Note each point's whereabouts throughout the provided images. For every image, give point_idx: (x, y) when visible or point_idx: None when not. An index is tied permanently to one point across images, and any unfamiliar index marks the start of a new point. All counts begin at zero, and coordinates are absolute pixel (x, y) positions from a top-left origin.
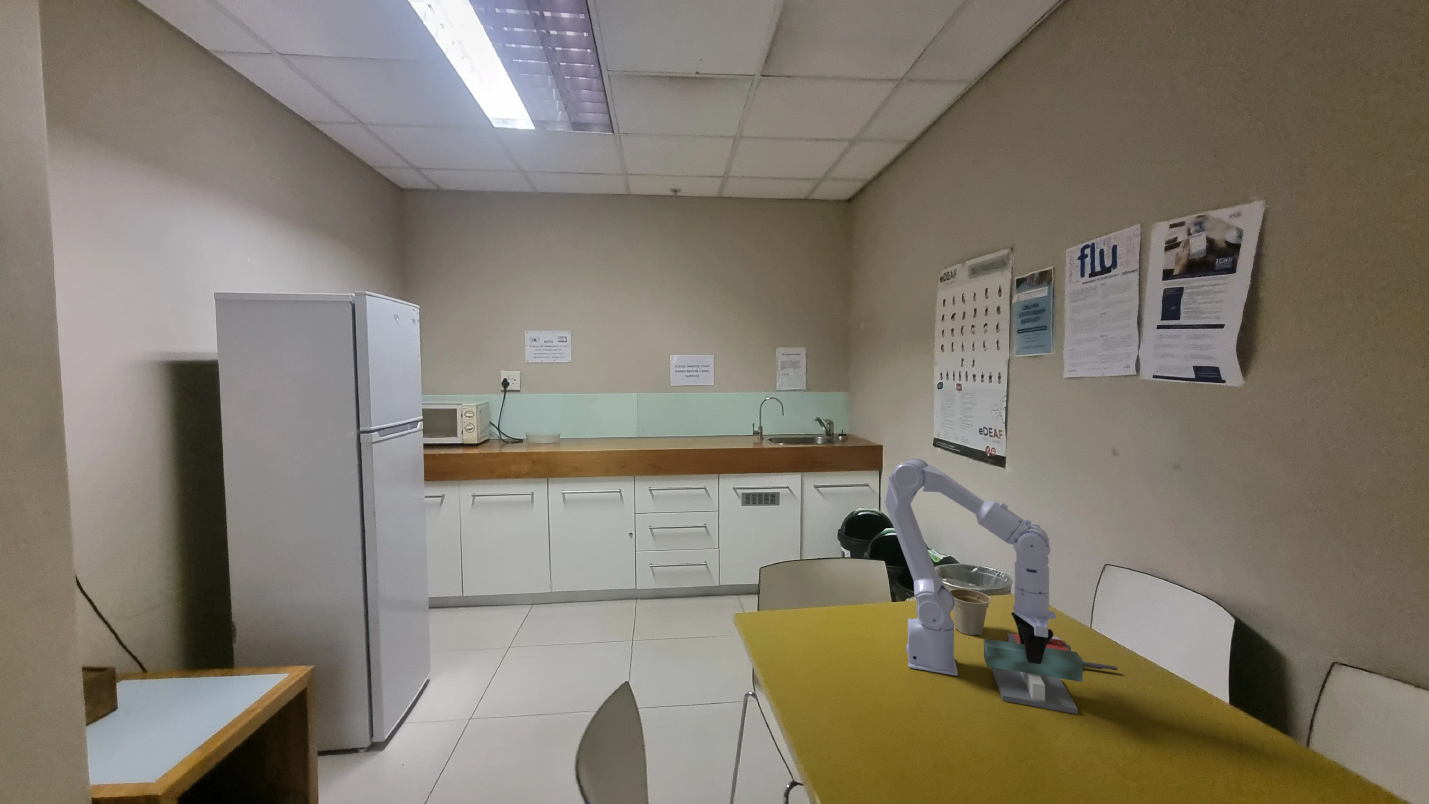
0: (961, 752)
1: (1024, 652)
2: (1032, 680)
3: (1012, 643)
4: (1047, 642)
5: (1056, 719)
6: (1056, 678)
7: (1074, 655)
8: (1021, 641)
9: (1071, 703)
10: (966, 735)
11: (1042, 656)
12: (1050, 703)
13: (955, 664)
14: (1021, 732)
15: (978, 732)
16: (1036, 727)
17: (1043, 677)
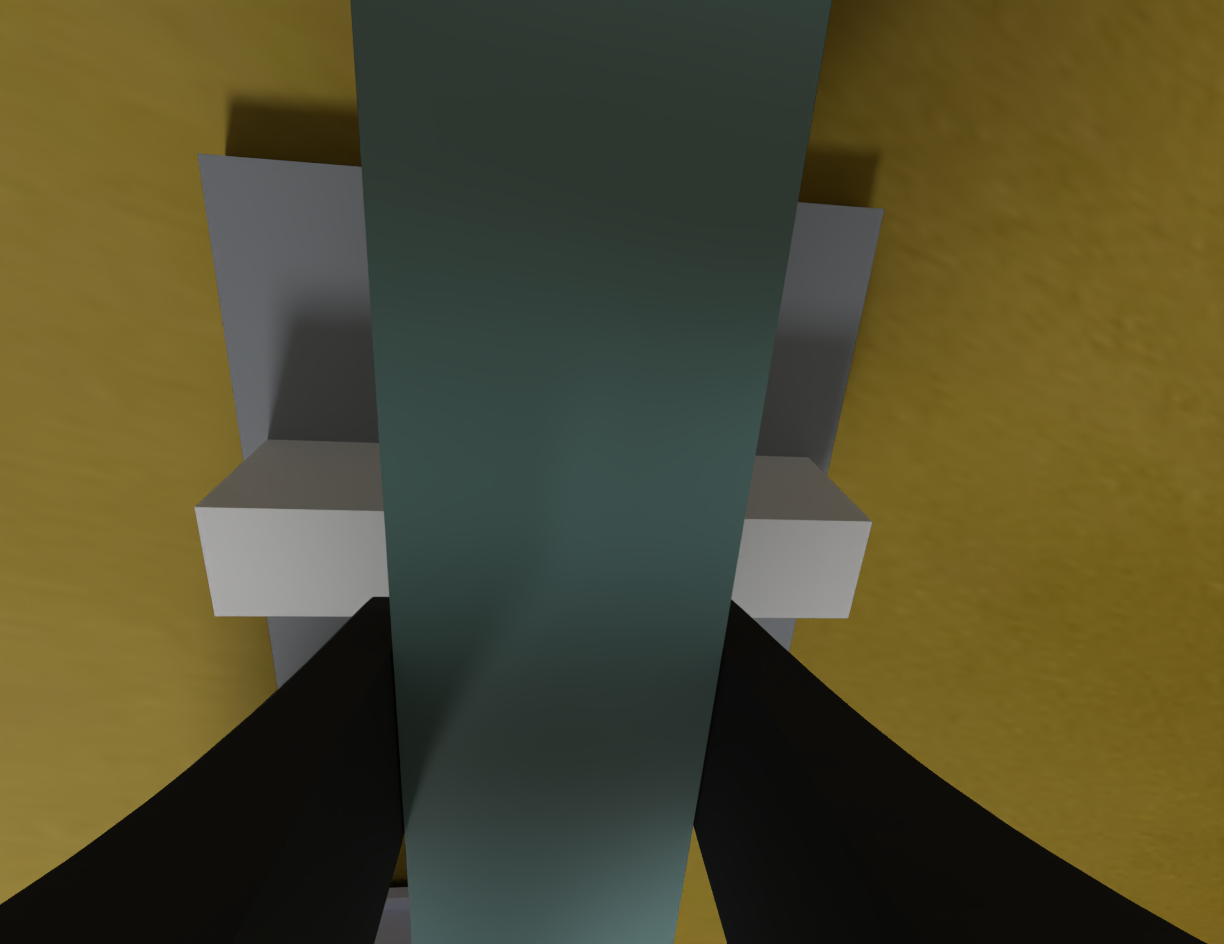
0: (1211, 883)
1: (690, 834)
2: (792, 606)
3: (444, 928)
4: (1135, 915)
5: (942, 406)
6: (315, 204)
7: (596, 3)
8: (389, 873)
9: (801, 234)
10: (1101, 863)
11: (791, 659)
12: (829, 422)
13: (390, 900)
14: (1084, 645)
15: (1080, 821)
16: (1037, 558)
17: (352, 341)
